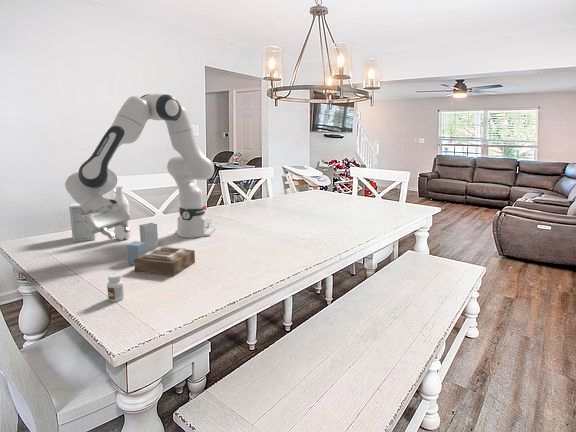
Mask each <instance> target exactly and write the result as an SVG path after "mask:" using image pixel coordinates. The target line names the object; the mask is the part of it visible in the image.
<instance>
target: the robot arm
mask: <svg viewBox="0 0 576 432" xmlns="http://www.w3.org/2000/svg"><path fill="white" fill-rule="evenodd" d="M149 120H153V121H164V122H165V124H166V127H167V131H168V135H169V139H170V142H171V147H172V148H173V150H175V151H176V152H177V153H179V155H180V156H174V157H171V158H170V159H169V160H168V162H167V166H166V167H167V172H168V174H169V175H170V176H171V177H172V178H173V180H174V181H175V184H176V186H177V188H178V193H179V209H178V212H179V216H178V218H177V227H176V228H177V230H175V232H174V234H176V235H177V236H178V237H182V238H188V239H189V238H190V239H191V238H202V237H210V236H212V234H213V233H214V232H215V231H216V230H217V228H216V226H213V225H212V219H211V218H210V217H209V216H208V215H207V214H206V210H207V208H208V207H207V206H206V205H204V200H203V199H204V195H203V194H204V193H203V189H201V188H200V187H199V186H198V185H197V183H196V181H207V180H209V179H211V178H212V177H213V175H214V173H215V166H214V163H213V162H212V160H211V159H210V158H208V157H207V156H206V155H205V154H204V153H203V151H202V150H201V148H200V147H199V145H198V142H197V139H196V135H195V134H194V128H193V125H192V122H191V119H190V116H189V114H188V111H187V109H186V107H184V106H183V105H181V104H180V102H179V101H178V99H177V98H176V97H174V96H173V95H170V94H165V93H164V94H163V93H153V94H152V93H151V94H149V93H148V94H143V95H142V96H140V97H139V96H136V95H135V96H133V95H132V96H130V97H128V98H127V100H126V101H124V103H123V105H122V106H121V108H120V109H119V111H118V112H117V114H116V116H115V119H114V121H113V122H112V124H111V126H110V127H109V128H108V130H107V131H106V132H105V134H104V135H103V137H102V138H101V140H100V141H99V143H98V145H97V146H96V148H95V150H94V151H93V153H92V154H91V156H90V157H89V158H88V159H87V160H86V161H84V162H83V163H82V164H81V165H80V166H79V169H78V172H74V173H72V174H71V175H69V176H68V177H67V179H66V180H65V183H64V187H65V189H66V191H67V193H68V194H69V196H70V197H72V199H73V200H74V202H75V203H79V204H80V205H81V207H82V209H83V210H84V212H82V213H81V214H80V218H81V219H82V220H83V222H84V224H85V226H86V227H87V228H88V230H89V231H90V232H91V233H93V234H95V233H97V234H98V233H101V234H102V235H104V236H107V238H108V239H110V240H112V239H114V238H115V234H114V232H111V231H109V230H110V229H113V228H115V227H116V226H119V225H121V226H122V227H123V228H124V230H123V231H124V232H125V233H128V232H129V231H130V230H131V227H130V228H129V227H128V224H127V222H128V220H129V221H130V219H131V215H130V213H129V214H128V213H127V212H126V211H125V210H124V209H123V208H122V207H121V206H120V205H118V201H117V200H114V199H111V198H107V197H106V198H105V197H104V195H105V194H107V193H109V192H110V191H111V192H112V191H113V189H116V187H117V184H118V177H117V175H116V173H115V172H114V171H112V170H111V169H109V164H110V162H111V161H112V159H113V157H114V155H115V153H116V152H117V150H118V149H119V147H121V146H122V145H125V144H126V145H127V144H133V143H135V142H136V141H137V140H138V139H139V138H140V136H141V134H142V132H143V130H144V128H145V125H146V123H147V122H148V121H149ZM129 215H130V216H129Z"/></svg>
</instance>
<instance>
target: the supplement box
mask: <svg viewBox="0 0 576 432" xmlns="http://www.w3.org/2000/svg"><path fill="white" fill-rule="evenodd" d="M68 207H69V217H70V226H71V235H72V242H74V243H75V242H83V241H84V242H85V241H86V242H87V241H96V238H97V236H98V235H97V234H98V233H95V234H93V233H91V232H90V231H89V230H88V228H87V227H86V226H85V224H84V222H83V220H82V219H81V218H80V214H81V213H82V212H84V210H83V209H82V207H81V205H80V204H79V203H77V202H72V203H71V204H70V205H69V206H68Z"/></svg>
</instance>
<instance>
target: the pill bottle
mask: <svg viewBox="0 0 576 432" xmlns="http://www.w3.org/2000/svg"><path fill="white" fill-rule="evenodd" d="M107 279H108V282H107V284H106V288H107V289H106V290H107V299H108V301H109V302H113V303H115V302H120V301H122V300H123V299H124V298H125V296H124V295H125V294H124V282H123V281H122V276H121V274H120V273H111V274H108V277H107Z"/></svg>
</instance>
